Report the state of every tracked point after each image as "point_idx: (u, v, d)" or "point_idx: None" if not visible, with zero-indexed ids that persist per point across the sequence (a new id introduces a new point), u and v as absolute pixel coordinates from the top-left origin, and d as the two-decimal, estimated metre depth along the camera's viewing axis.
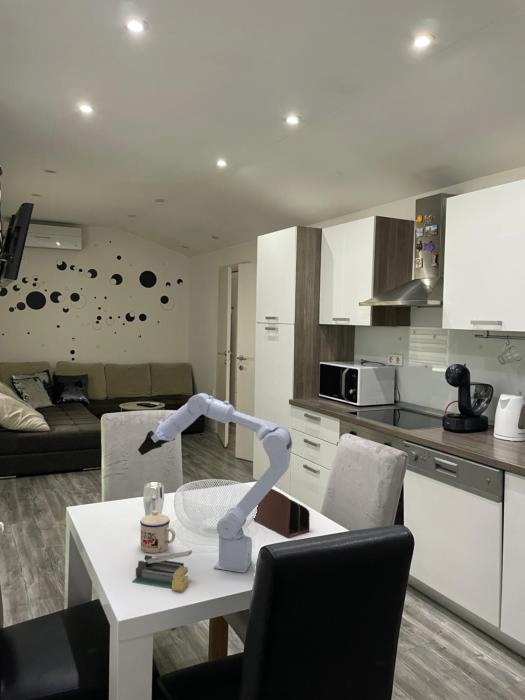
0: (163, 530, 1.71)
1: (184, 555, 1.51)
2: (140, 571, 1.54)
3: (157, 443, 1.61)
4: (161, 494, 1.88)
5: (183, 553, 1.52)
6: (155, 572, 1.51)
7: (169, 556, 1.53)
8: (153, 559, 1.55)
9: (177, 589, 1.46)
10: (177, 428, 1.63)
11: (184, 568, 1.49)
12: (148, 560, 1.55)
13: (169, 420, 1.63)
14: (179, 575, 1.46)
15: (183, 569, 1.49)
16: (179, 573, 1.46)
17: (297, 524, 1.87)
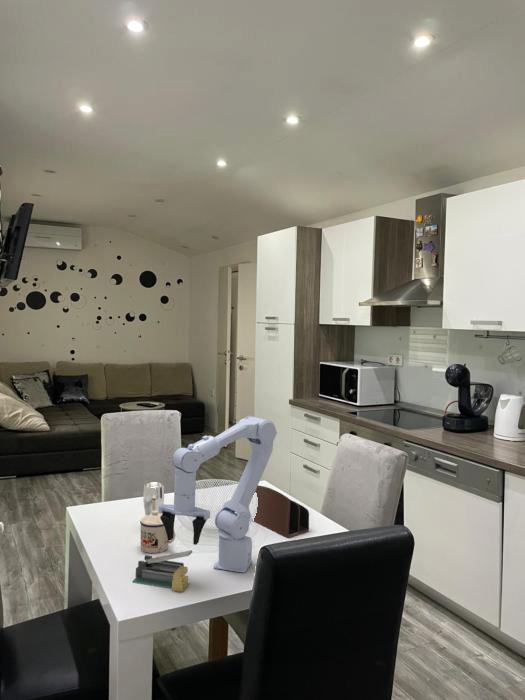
0: (163, 530, 1.71)
1: (184, 555, 1.51)
2: (140, 571, 1.54)
3: None
4: (161, 494, 1.88)
5: (183, 553, 1.52)
6: (155, 572, 1.51)
7: (169, 556, 1.53)
8: (153, 559, 1.55)
9: (177, 589, 1.46)
10: None
11: (184, 568, 1.49)
12: (148, 560, 1.55)
13: (189, 498, 1.50)
14: (179, 575, 1.46)
15: (183, 569, 1.49)
16: (179, 573, 1.46)
17: (297, 524, 1.87)
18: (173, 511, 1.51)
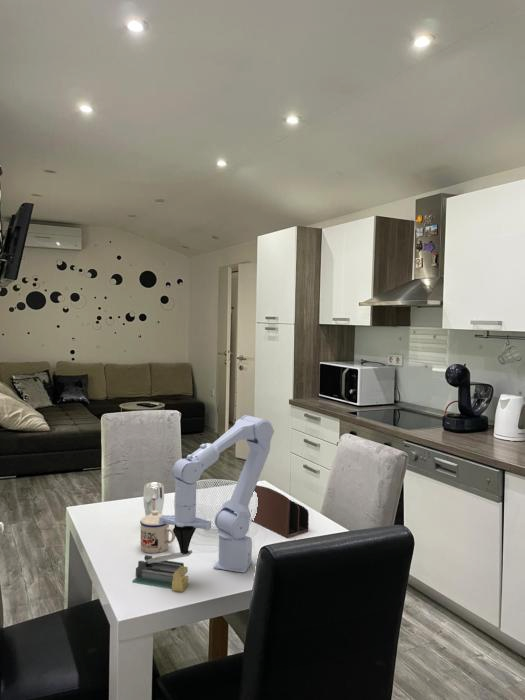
0: (163, 530, 1.71)
1: (184, 555, 1.51)
2: (140, 571, 1.54)
3: None
4: (161, 494, 1.88)
5: None
6: (155, 572, 1.51)
7: (169, 556, 1.53)
8: (153, 559, 1.55)
9: (177, 589, 1.46)
10: None
11: (184, 568, 1.49)
12: (148, 560, 1.55)
13: (190, 509, 1.50)
14: (179, 575, 1.46)
15: (183, 569, 1.49)
16: (179, 573, 1.46)
17: (296, 524, 1.87)
18: (174, 522, 1.51)
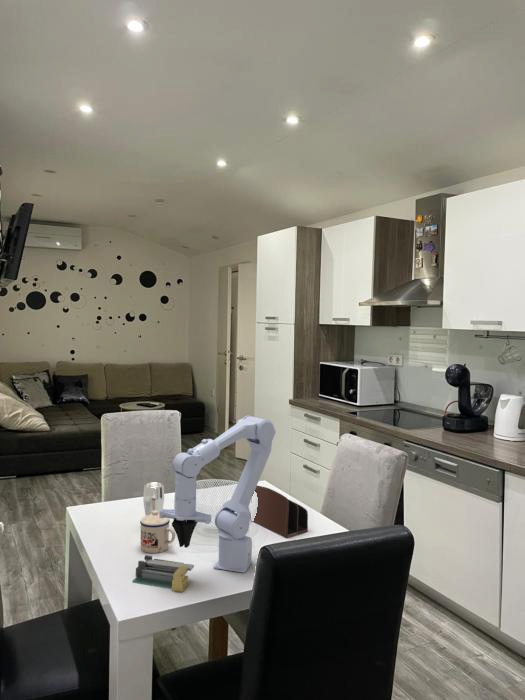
0: (163, 530, 1.71)
1: None
2: (140, 571, 1.54)
3: None
4: (161, 494, 1.88)
5: (185, 566, 1.52)
6: (155, 572, 1.51)
7: (170, 564, 1.53)
8: (154, 562, 1.55)
9: (177, 589, 1.46)
10: None
11: (184, 568, 1.49)
12: (148, 561, 1.55)
13: (190, 503, 1.50)
14: (179, 575, 1.46)
15: (183, 569, 1.49)
16: (179, 573, 1.46)
17: (295, 524, 1.87)
18: (174, 516, 1.50)
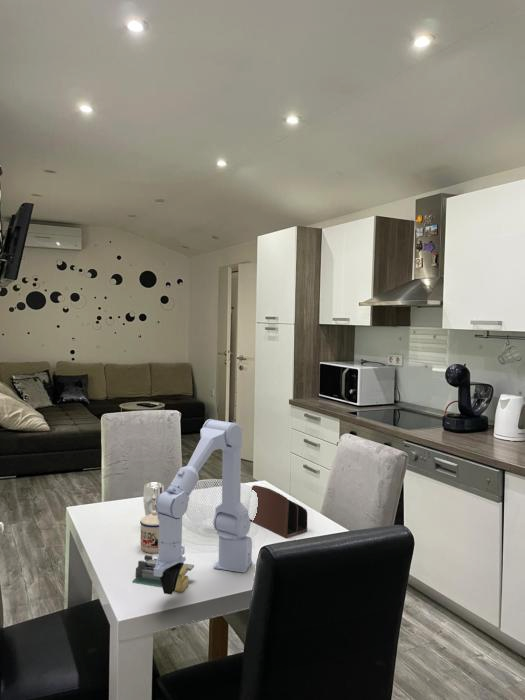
0: None
1: None
2: (140, 571, 1.54)
3: None
4: None
5: (185, 566, 1.52)
6: None
7: None
8: (154, 562, 1.55)
9: (177, 589, 1.46)
10: None
11: (184, 568, 1.49)
12: (148, 561, 1.55)
13: None
14: (179, 575, 1.46)
15: (183, 569, 1.49)
16: (179, 573, 1.46)
17: (295, 524, 1.87)
18: (175, 562, 1.38)
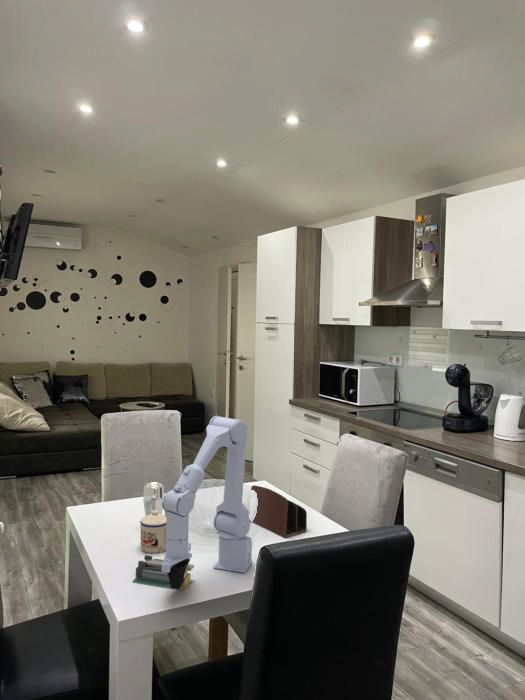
0: (163, 530, 1.71)
1: None
2: (140, 571, 1.54)
3: None
4: (161, 494, 1.88)
5: None
6: (155, 572, 1.51)
7: None
8: (154, 562, 1.55)
9: None
10: None
11: None
12: (148, 561, 1.55)
13: None
14: None
15: None
16: None
17: (294, 524, 1.87)
18: (182, 558, 1.43)
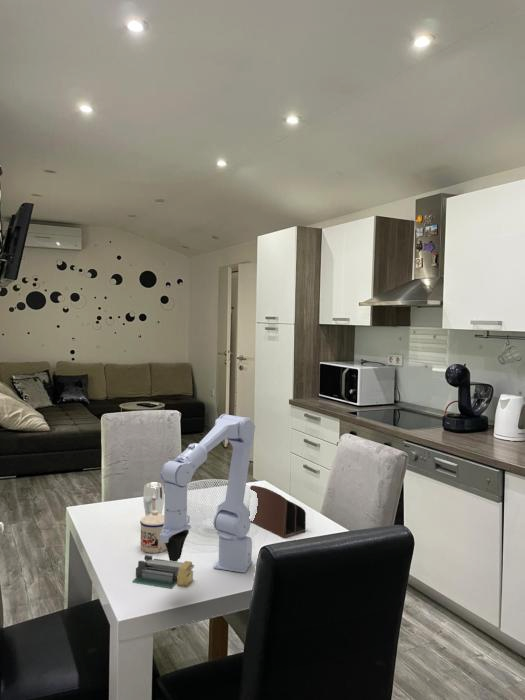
0: None
1: None
2: (140, 571, 1.54)
3: None
4: (161, 494, 1.88)
5: None
6: (155, 572, 1.51)
7: (170, 564, 1.53)
8: (154, 562, 1.55)
9: (182, 583, 1.50)
10: None
11: (189, 563, 1.52)
12: (148, 561, 1.55)
13: None
14: (184, 570, 1.49)
15: (188, 564, 1.52)
16: (184, 568, 1.49)
17: (293, 524, 1.87)
18: (181, 530, 1.41)
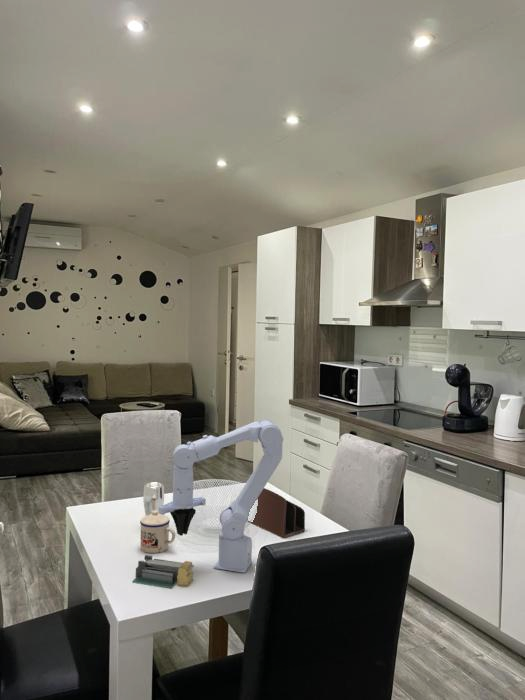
0: (163, 530, 1.71)
1: None
2: (140, 571, 1.54)
3: None
4: (161, 494, 1.88)
5: None
6: (155, 572, 1.51)
7: (170, 564, 1.53)
8: (154, 562, 1.55)
9: (182, 583, 1.50)
10: None
11: (189, 563, 1.52)
12: (148, 561, 1.55)
13: (192, 490, 1.59)
14: (184, 570, 1.49)
15: (188, 564, 1.52)
16: (184, 568, 1.49)
17: (293, 524, 1.87)
18: (181, 507, 1.56)
